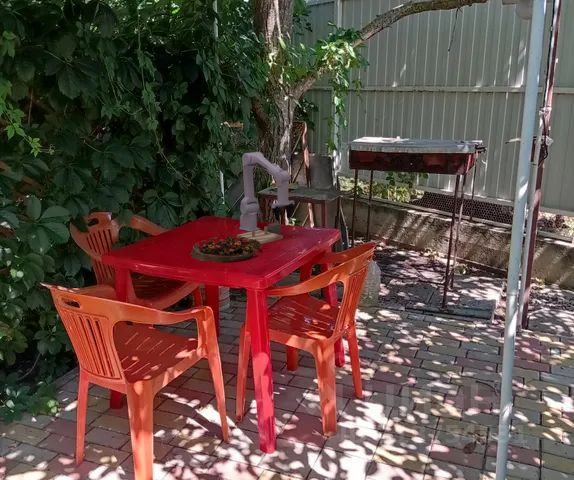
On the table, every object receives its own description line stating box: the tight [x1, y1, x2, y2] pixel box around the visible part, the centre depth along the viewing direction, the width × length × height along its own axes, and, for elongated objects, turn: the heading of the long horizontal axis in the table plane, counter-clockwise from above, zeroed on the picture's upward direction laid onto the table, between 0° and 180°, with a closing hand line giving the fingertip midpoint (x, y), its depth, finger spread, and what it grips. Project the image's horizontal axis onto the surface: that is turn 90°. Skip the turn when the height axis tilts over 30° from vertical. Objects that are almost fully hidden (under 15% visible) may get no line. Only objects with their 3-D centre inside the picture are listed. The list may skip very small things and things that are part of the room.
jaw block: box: [267, 222, 282, 235], centre depth 323 cm, size 4×6×5 cm, turn 133°
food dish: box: [189, 235, 263, 263], centre depth 286 cm, size 35×33×8 cm
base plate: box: [236, 225, 284, 245], centre depth 312 cm, size 19×16×6 cm
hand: (283, 219), depth 310 cm, fingers open, 7 cm apart
